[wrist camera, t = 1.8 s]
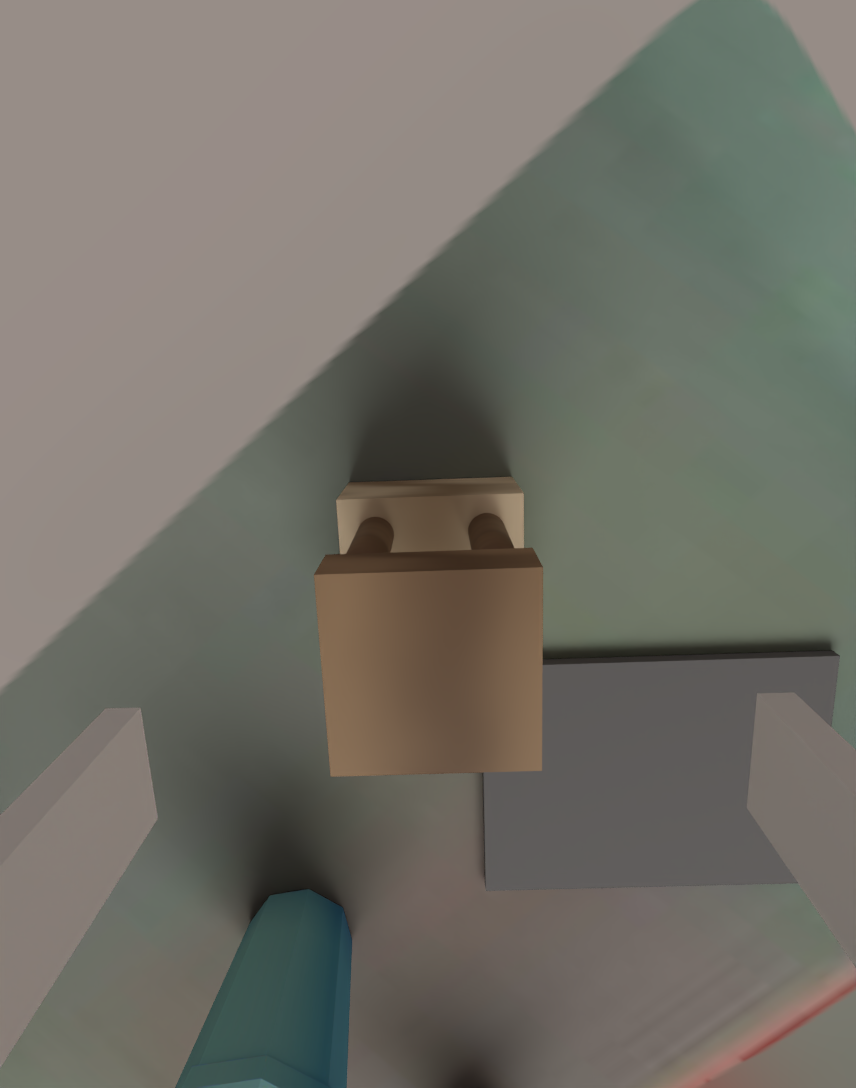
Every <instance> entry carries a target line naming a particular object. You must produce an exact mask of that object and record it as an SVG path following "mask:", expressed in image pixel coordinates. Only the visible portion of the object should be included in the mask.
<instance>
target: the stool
mask: <svg viewBox="0 0 856 1088" xmlns="http://www.w3.org/2000/svg"><path fill="white" fill-rule="evenodd" d="M468 535H469V540H470V545H471V550H451V551H421V552H391V548H392V544H393V540H394V531H393V528H392V526H391V524H390V523H389V522H388V521H386V520H385V519H383V518H380V517H370V518H368V519H366V520H364V521H363V522H362V523H361V524H360V526H359V528H358V530H357V532H356V534H355V536H354V538H353V540H352V542H351V545H350V547H349V549H348V551H347V553H346V554H332V555H325V557H324V559H323V560H322V562H321V564H320V565H319V567H318V569H317V571H316V572H315V574H314V581H315V593H316V605H317V617H318V629H319V641H320V653H321V666H322V678H323V690H324V702H325V714H326V726H327V738H328V751H329V763H330V775H331V777H335V776H371V775H407V774H444V773H480V772H517V771H542V672H543V566H542V565H541V563H540V561H539V559H538V557H537V555H536V553H535V552H534V550H533V548H514V546H513V544H512V541H511V539H510V537H509V534H508V532H507V530H506V528H505V525H504V523H503V521H502V520H501V519H500V518H499V517H498V516H496V515H494V514H491V513H483V514H480V515H478V516H476V517H475V518H474V519H473V520H472V521H471V522H470V525H469V528H468ZM390 552H391V553H390Z"/></svg>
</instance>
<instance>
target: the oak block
mask: <svg viewBox="0 0 856 1088" xmlns="http://www.w3.org/2000/svg"><path fill="white" fill-rule="evenodd" d="M336 504H337V518H338V532H339V546H340V554H346V553H347V551H348V549H349V547H350V545H351V542H352V540H353V538H354V536H355V534H356V532H357V530H358V528H359V526H360V524H361V523H362V522H363V521H364V520H366V519H368V518H370V517H380V518H383V519H385V520H386V521H388V522H389V523H390V524H391V526H392V528H393V531H394V540H393V544H392V548H391V552H421V551H451V550H471V545H470V540H469V535H468V528H469V525H470V522H471V521H472V520H473V519H474V518H475V517H476V516H478V515H480V514H483V513H491V514H494V515H496V516H498V517H499V518H500V519H501V520H502V521H503V523H504V525H505V528H506V530H507V532H508V534H509V537H510V539H511V541H512V544H513V546H514V548H524V493H523V492H522V490H521V489H520V487H519V486H518V484H517V483H516V482H515V480H514V479H513V477H489V478H461V479H433V480H405V481H376V482H349V483H348V485H347V486H346V487H345V489H344V490H343V491H342V493H341V494H340V495H339V497H338V498H337V499H336ZM391 552H390V553H391Z"/></svg>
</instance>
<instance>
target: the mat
mask: <svg viewBox="0 0 856 1088" xmlns="http://www.w3.org/2000/svg"><path fill="white" fill-rule="evenodd" d="M839 659H840V656H839V655H838V654H836V653H835V652H834V651H802V652H769V653H736V654H704V655H671V656H638V657H605V658H573V659H543V672H542V771H517V772H483V806H484V856H485V887H486V891H498V890H539V889H580V888H621V887H663V886H704V885H745V884H786V883H798V882H797V881H796V879H795V878H794V876H793V875H792V873H791V872H790V870H789V869H788V867H787V866H786V865H785V863H784V862H783V860H782V859H781V857H780V856H779V854H778V853H777V851H776V850H775V848H774V847H773V845H772V844H771V843H770V841H769V840H768V838H767V837H766V835H765V834H764V832H763V831H762V829H761V828H760V826H759V825H758V824H757V822H756V821H755V819H754V818H753V816H752V815H751V813H750V812H749V810H748V809H747V799H748V788H749V777H750V766H751V755H752V744H753V733H754V722H755V711H756V700H757V693H793V692H794V693H795V694H796V695H797V696H799V697H800V698H801V699H802V700H803V701H804V702H805V703H806V704H807V705H808V706H809V707H810V708H811V709H812V710H813V711H815V712H816V713H817V714H818V715H819V716H820V717H821V718H822V719H823V720H824V721H825V722H826V723H827V724H828V725H829V726H831V725H832V717H833V708H834V700H835V692H836V684H837V675H838V667H839Z"/></svg>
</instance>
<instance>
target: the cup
mask: <svg viewBox="0 0 856 1088" xmlns="http://www.w3.org/2000/svg"><path fill="white" fill-rule="evenodd" d="M351 954H352V938H351V935H350V931H349V927H348V924H347V920H346V917H345V913H344V910H343V907H341V906H339V905H337V904H335V903H334V902H332V901H330V900H328V899H326V898H324V897H323V896H321V895H319V894H317V893H315V892H314V891H312V890H310V889H305V890H299V891H293V892H287V893H281V894H275V895H270V896H269V897H268V899H267V900H266V901H265V903H264V904H263V906H262V907H261V908H260V910H259V911H258V912H257V914H256V915H255V917H254V918H253V919H252V921H251V922H250V924H249V926H248V928H247V931H246V933H245V935H244V937H243V939H242V942H241V944H240V946H239V948H238V950H237V953H236V955H235V957H234V959H233V961H232V964H231V966H230V968H229V970H228V972H227V975H226V977H225V979H224V981H223V983H222V986H221V988H220V990H219V992H218V994H217V997H216V999H215V1001H214V1003H213V1005H212V1008H211V1010H210V1012H209V1014H208V1016H207V1019H206V1021H205V1023H204V1025H203V1028H202V1030H201V1032H200V1034H199V1036H198V1039H197V1041H196V1043H195V1045H194V1047H193V1050H192V1052H191V1054H190V1056H189V1058H188V1061H187V1063H186V1065H185V1067H184V1069H183V1072H182V1074H181V1076H180V1078H179V1080H178V1083H177V1085H176V1087H175V1088H346V1086H347V1059H348V1033H349V1007H350V980H351Z"/></svg>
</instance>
